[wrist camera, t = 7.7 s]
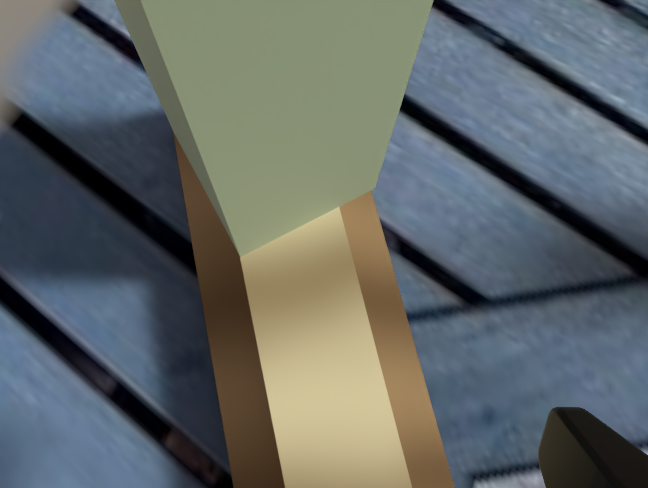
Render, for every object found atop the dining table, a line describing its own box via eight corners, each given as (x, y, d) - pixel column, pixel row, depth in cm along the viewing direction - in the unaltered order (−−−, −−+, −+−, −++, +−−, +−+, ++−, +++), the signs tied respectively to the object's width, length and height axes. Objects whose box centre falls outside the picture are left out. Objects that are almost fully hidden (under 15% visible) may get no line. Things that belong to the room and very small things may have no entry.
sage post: (374, 188, 18) (495, -198, 7) (240, 257, 17) (118, -55, 6) (303, 75, 19) (303, -412, 8) (174, 133, 19) (-31, -321, 7)
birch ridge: (468, 559, 18) (505, 591, 15) (260, 618, 17) (250, 665, 14) (339, 97, 23) (345, 43, 20) (175, 127, 23) (153, 77, 19)
